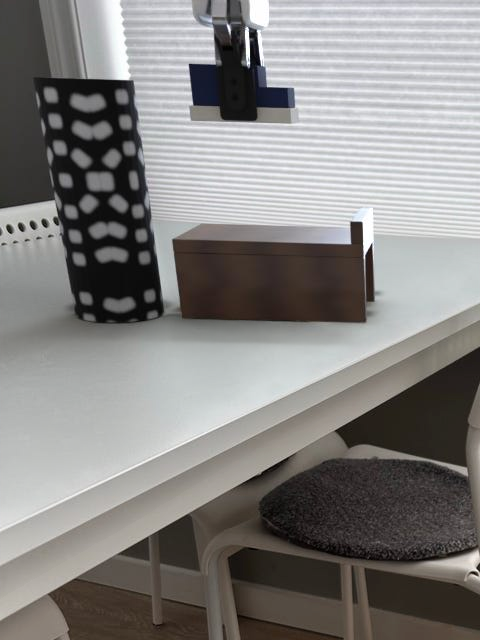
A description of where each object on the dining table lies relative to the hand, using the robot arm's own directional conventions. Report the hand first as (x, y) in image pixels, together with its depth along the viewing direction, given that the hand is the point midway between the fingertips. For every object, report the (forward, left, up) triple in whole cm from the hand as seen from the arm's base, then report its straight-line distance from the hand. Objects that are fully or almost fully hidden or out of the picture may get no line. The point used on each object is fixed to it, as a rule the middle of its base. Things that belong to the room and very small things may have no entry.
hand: (245, 117), depth 87 cm
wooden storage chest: (+2, +3, -17) cm, 18 cm away
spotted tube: (-14, -2, -18) cm, 22 cm away
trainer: (0, 0, 0) cm, 0 cm away
